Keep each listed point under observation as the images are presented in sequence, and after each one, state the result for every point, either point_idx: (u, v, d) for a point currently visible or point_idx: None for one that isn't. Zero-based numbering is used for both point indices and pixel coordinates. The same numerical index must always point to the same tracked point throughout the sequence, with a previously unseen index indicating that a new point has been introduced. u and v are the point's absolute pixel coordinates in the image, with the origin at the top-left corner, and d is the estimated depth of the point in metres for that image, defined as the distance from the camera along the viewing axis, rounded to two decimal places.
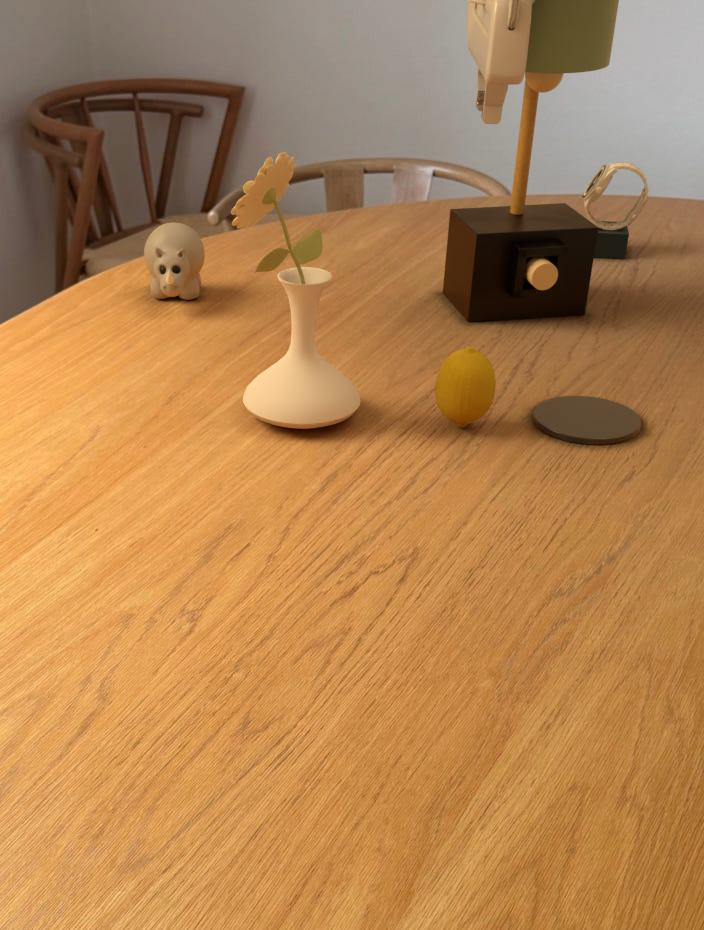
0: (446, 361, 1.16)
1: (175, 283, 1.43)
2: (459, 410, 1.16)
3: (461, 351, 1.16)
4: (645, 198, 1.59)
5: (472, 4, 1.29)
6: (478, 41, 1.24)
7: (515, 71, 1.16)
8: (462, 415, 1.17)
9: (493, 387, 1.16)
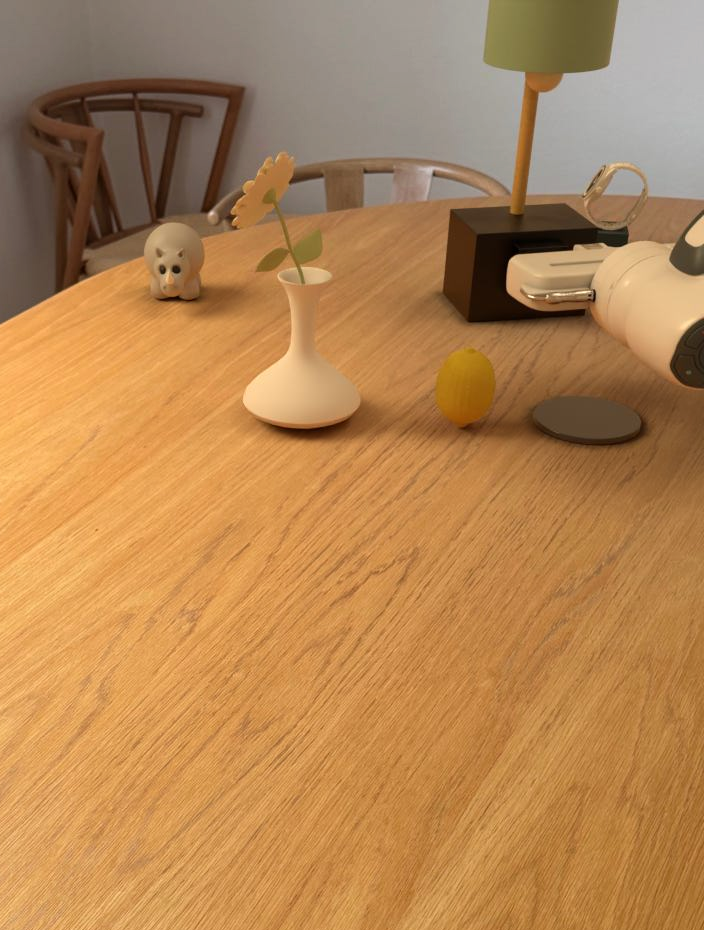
0: (446, 361, 1.16)
1: (175, 283, 1.43)
2: (459, 410, 1.16)
3: (461, 351, 1.16)
4: (645, 198, 1.59)
5: None
6: (612, 253, 1.20)
7: (507, 284, 1.22)
8: (462, 415, 1.17)
9: (493, 387, 1.16)
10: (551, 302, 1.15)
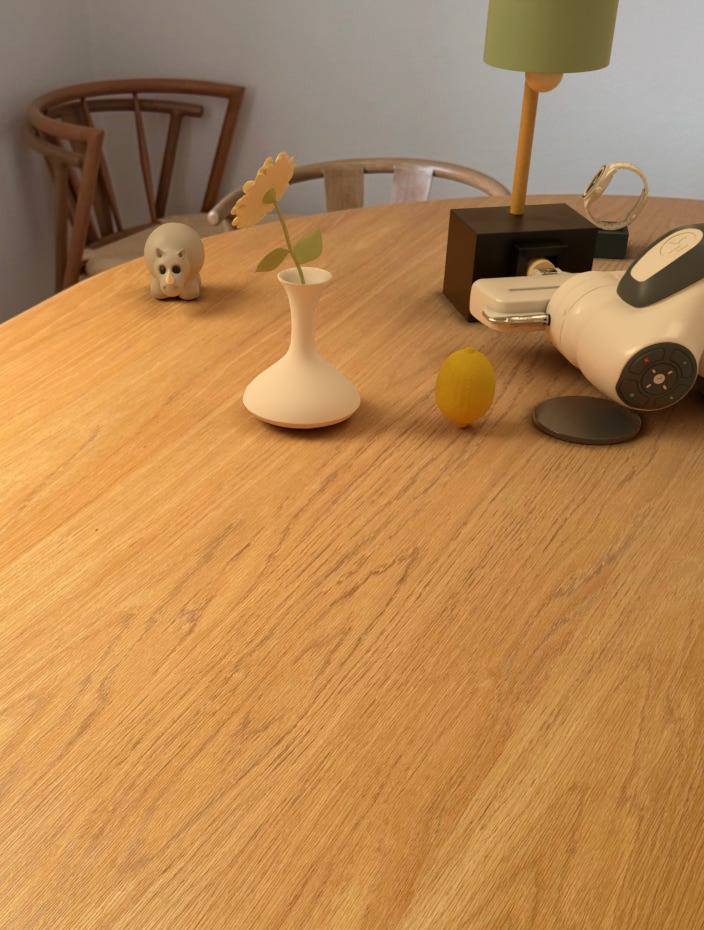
0: (446, 361, 1.16)
1: (175, 283, 1.43)
2: (459, 410, 1.16)
3: (461, 351, 1.16)
4: (645, 198, 1.59)
5: None
6: (565, 279, 1.31)
7: (470, 306, 1.33)
8: (462, 415, 1.17)
9: (493, 387, 1.16)
10: (510, 325, 1.26)
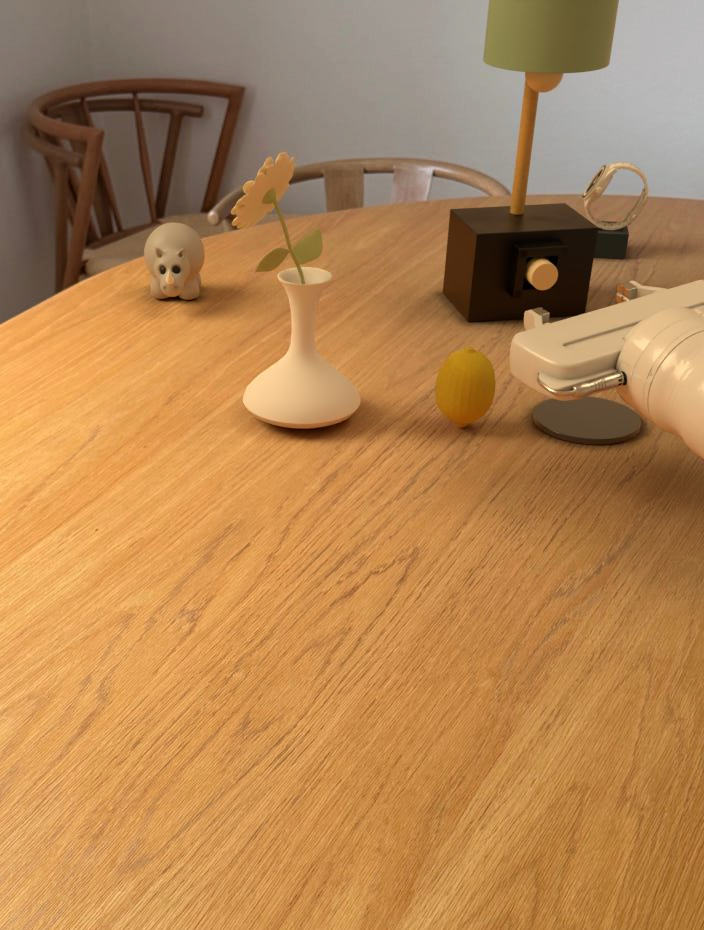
0: (446, 361, 1.16)
1: (175, 283, 1.43)
2: (459, 410, 1.16)
3: (461, 351, 1.16)
4: (645, 198, 1.59)
5: None
6: (621, 315, 1.06)
7: (512, 368, 1.06)
8: (462, 415, 1.17)
9: (493, 387, 1.16)
10: (580, 396, 1.00)
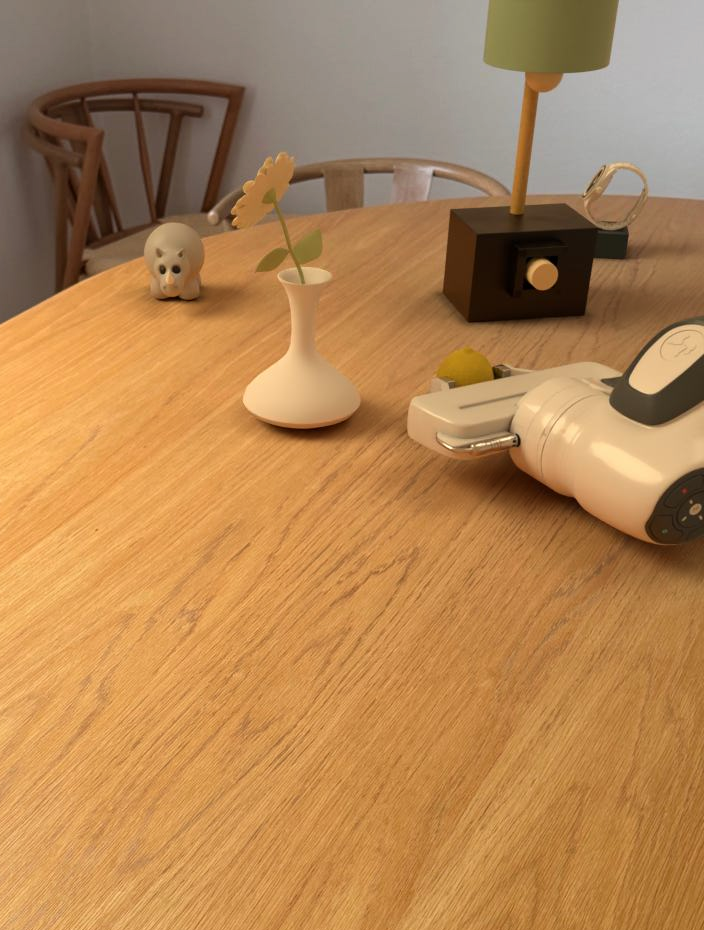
0: (444, 361, 1.16)
1: (175, 283, 1.43)
2: None
3: (459, 351, 1.16)
4: (645, 198, 1.59)
5: (603, 377, 1.12)
6: (512, 385, 1.11)
7: (410, 430, 1.09)
8: None
9: None
10: (478, 453, 1.04)
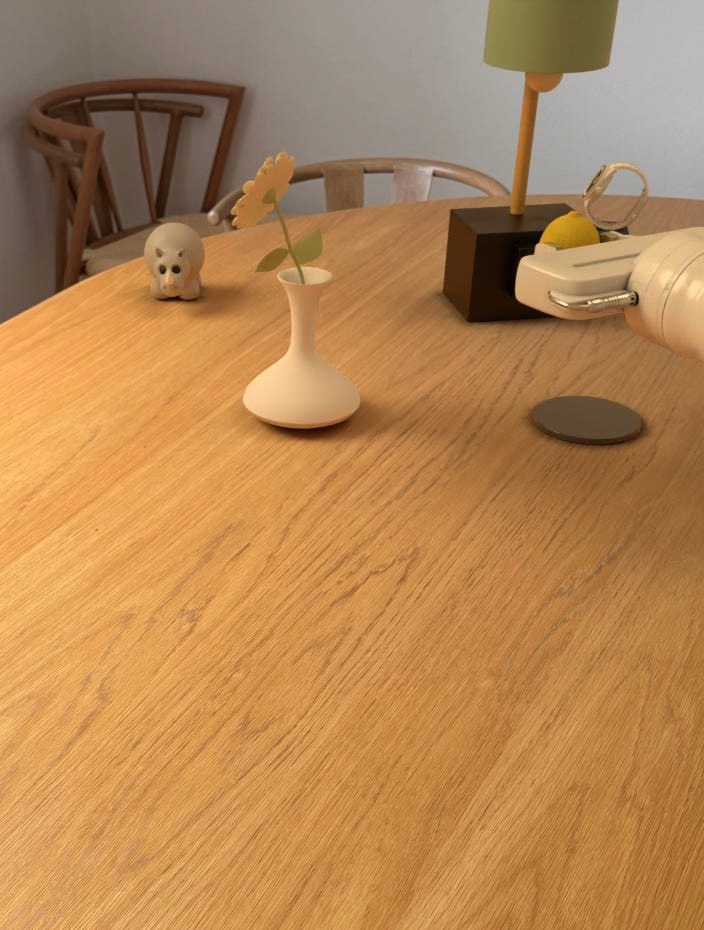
0: (549, 227, 1.11)
1: (175, 283, 1.43)
2: None
3: (565, 216, 1.11)
4: (645, 198, 1.59)
5: None
6: (624, 247, 1.06)
7: (518, 291, 1.04)
8: None
9: None
10: (595, 310, 0.99)
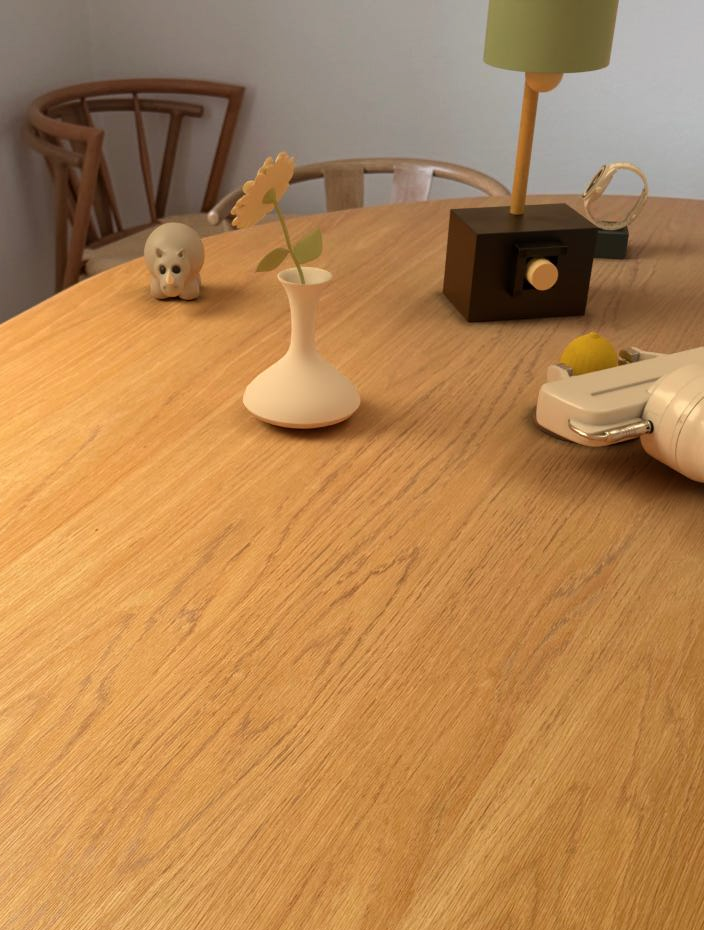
0: (569, 346, 1.17)
1: (175, 283, 1.43)
2: None
3: (585, 336, 1.17)
4: (645, 198, 1.59)
5: None
6: (639, 372, 1.12)
7: (539, 416, 1.11)
8: None
9: None
10: (612, 440, 1.05)
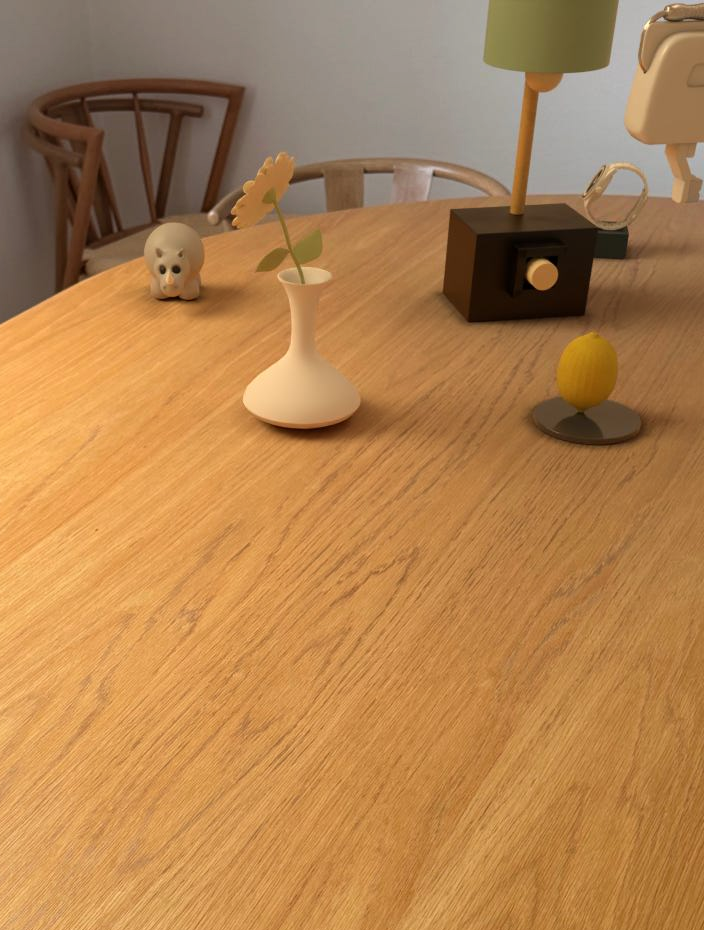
0: (569, 346, 1.17)
1: (175, 283, 1.43)
2: (582, 395, 1.17)
3: (585, 336, 1.17)
4: (645, 198, 1.59)
5: None
6: None
7: (636, 125, 0.92)
8: (585, 399, 1.18)
9: (616, 372, 1.17)
10: (673, 6, 0.88)
